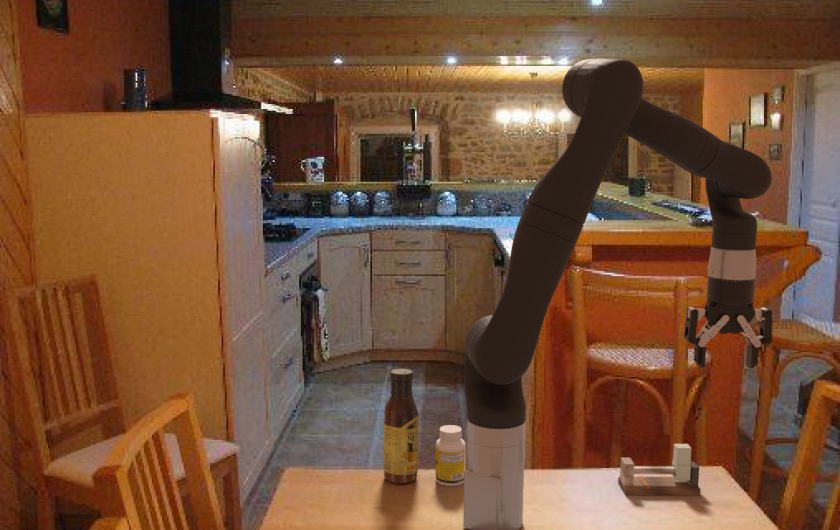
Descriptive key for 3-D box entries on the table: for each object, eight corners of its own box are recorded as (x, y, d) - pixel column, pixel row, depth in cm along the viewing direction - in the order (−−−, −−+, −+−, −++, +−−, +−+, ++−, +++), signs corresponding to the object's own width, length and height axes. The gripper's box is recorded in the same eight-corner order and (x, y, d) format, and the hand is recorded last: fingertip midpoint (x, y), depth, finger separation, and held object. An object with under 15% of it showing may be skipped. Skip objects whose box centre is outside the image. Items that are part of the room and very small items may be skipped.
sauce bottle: (414, 487, 144) (414, 378, 141) (379, 483, 145) (379, 375, 142) (421, 472, 150) (422, 367, 147) (388, 469, 152) (388, 365, 149)
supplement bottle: (440, 473, 150) (441, 421, 149) (468, 477, 149) (469, 425, 147) (431, 484, 145) (431, 431, 144) (460, 489, 144) (461, 435, 142)
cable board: (690, 483, 147) (692, 455, 146) (700, 495, 142) (701, 466, 141) (618, 482, 147) (619, 455, 146) (625, 494, 142) (626, 466, 141)
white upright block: (685, 474, 145) (687, 443, 144) (689, 480, 143) (691, 448, 142) (671, 474, 145) (673, 443, 144) (676, 480, 143) (678, 448, 142)
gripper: (696, 277, 135) (691, 373, 138) (783, 278, 135) (776, 373, 138) (682, 270, 142) (677, 361, 145) (764, 271, 142) (757, 361, 145)
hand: (725, 367), depth 141 cm, fingers open, 8 cm apart
